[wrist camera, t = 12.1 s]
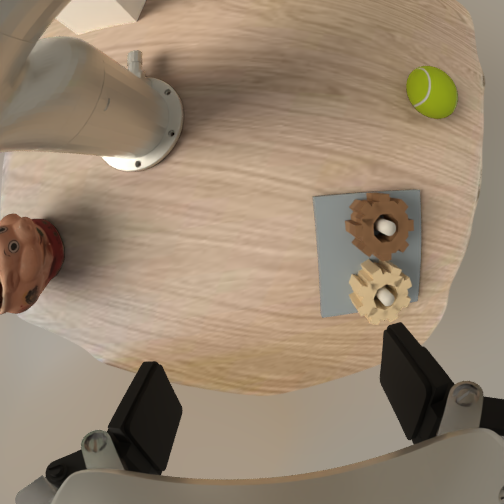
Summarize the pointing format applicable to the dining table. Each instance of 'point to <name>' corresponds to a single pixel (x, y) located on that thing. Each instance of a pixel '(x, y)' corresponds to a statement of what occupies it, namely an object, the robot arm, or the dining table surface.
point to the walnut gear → (364, 228)
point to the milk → (99, 14)
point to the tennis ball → (432, 92)
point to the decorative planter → (26, 260)
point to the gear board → (365, 261)
